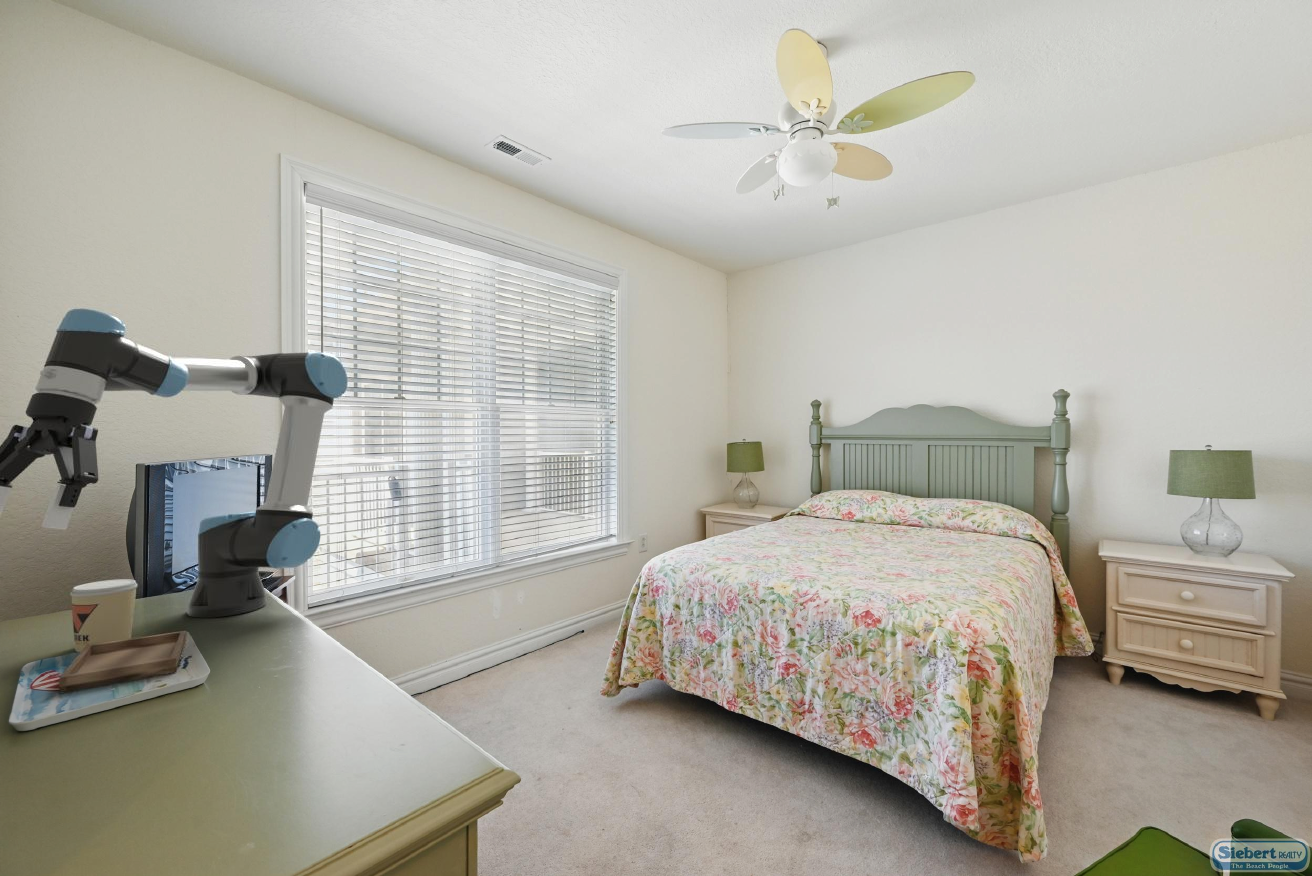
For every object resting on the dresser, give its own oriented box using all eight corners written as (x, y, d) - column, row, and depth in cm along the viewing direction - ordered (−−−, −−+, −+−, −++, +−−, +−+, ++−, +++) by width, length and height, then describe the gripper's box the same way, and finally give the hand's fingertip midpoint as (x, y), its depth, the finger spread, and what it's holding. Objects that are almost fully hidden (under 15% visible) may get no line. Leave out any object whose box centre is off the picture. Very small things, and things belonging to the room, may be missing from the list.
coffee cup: (60, 648, 106) (62, 586, 107) (124, 634, 115) (126, 576, 115) (79, 657, 102) (81, 592, 102) (144, 642, 110) (146, 581, 111)
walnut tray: (185, 643, 110) (186, 630, 110) (175, 672, 95) (176, 658, 95) (86, 658, 101) (86, 645, 101) (58, 693, 87) (59, 677, 87)
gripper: (-24, 392, 89) (-80, 522, 83) (104, 388, 85) (54, 525, 79) (33, 408, 96) (-15, 529, 90) (153, 405, 92) (111, 532, 86)
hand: (17, 528), depth 84 cm, fingers open, 13 cm apart
